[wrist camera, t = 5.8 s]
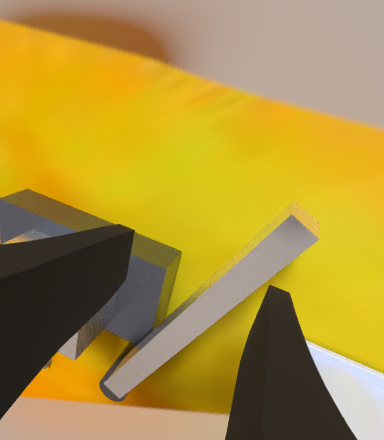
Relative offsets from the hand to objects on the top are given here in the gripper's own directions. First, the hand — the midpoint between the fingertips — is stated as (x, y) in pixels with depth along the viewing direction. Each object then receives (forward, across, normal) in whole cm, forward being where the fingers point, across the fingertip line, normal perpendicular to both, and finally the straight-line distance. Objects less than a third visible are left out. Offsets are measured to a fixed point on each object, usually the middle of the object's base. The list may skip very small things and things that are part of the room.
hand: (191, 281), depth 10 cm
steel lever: (+9, +1, +7) cm, 11 cm away
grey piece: (+9, +10, +8) cm, 16 cm away
